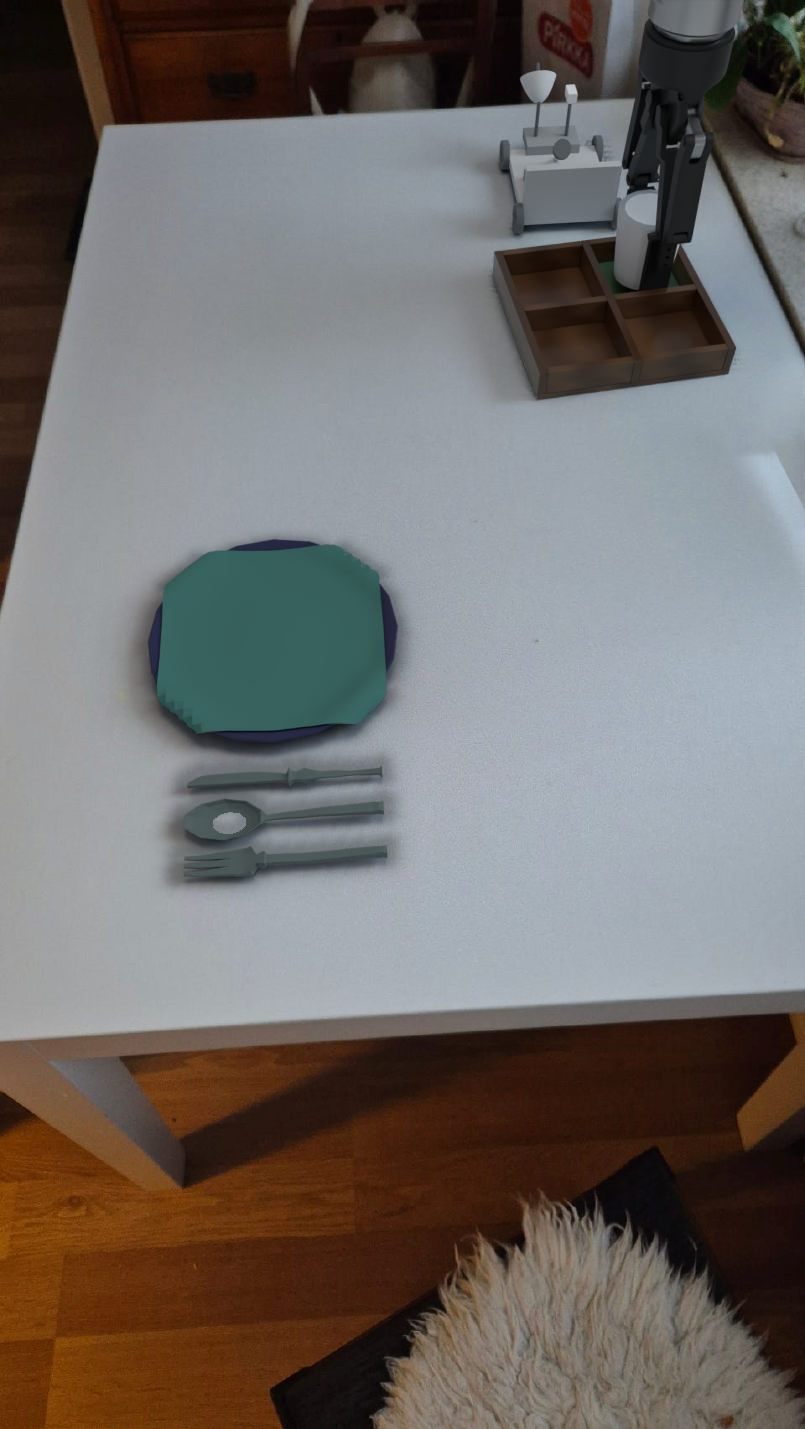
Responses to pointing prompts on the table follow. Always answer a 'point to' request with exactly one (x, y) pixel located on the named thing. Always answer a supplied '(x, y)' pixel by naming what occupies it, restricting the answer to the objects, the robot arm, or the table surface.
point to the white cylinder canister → (634, 235)
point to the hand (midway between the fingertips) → (641, 271)
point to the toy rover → (559, 168)
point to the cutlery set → (272, 671)
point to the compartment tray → (606, 321)
